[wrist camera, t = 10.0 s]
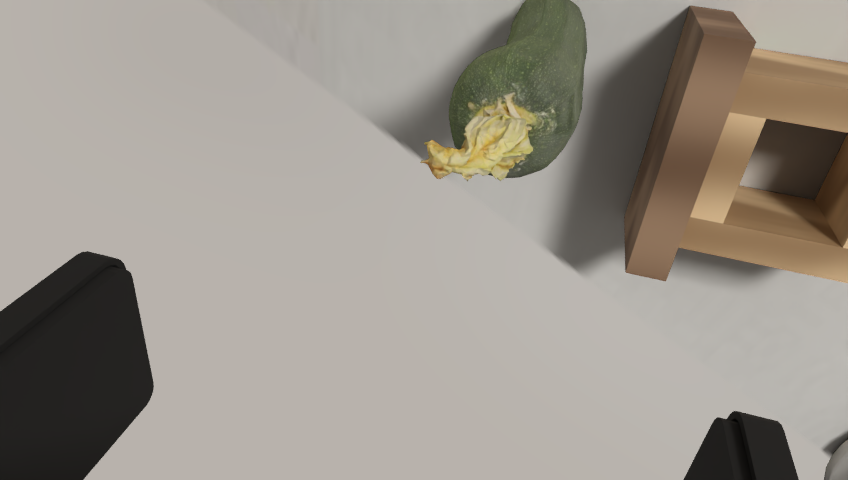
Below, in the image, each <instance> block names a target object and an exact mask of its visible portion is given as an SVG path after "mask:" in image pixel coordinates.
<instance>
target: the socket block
mask: <svg viewBox="0 0 848 480" xmlns="http://www.w3.org/2000/svg"><path fill="white" fill-rule="evenodd" d="M766 119H771V120H777V121H782V122H788V123H794V124H800V125H806V126H811V127H817V128H823V129H829V130H835V131H840V132H846V133H848V63H846V62H839V61H833V60H826V59H820V58H813V57H807V56H800V55H794V54H788V53H781V52H775V51H768V50H762V49H755V48H753V51H752V54H751V56H750V59H749V62H748V64H747V67H746V70H745V72H744V75H743V78H742V80H741V83H740V86H739V88H738V91H737V93H736V96H735V99H734V101H733V104H732V107H731V109H730V112H729V115H728V117H727V120H726V123H725V125H724V128H723V131H722V133H721V136H720V139H719V141H718V144H717V147H716V149H715V152H714V155H713V157H712V160H711V163H710V165H709V168H708V170H707V173H706V176H705V178H704V181H703V184H702V186H701V189H700V192H699V194H698V197H697V200H696V202H695V205H694V208H693V210H692V213H691V216H690V218H689V221H688V224H687V226H686V229H685V232H684V234H683V237H682V240H681V242H680V245H679V247H678V248H683V249H688V250H693V251H697V252H702V253H707V254H712V255H716V256H721V257H726V258H731V259H735V260H740V261H745V262H750V263H754V264H759V265H764V266H769V267H773V268H778V269H783V270H788V271H792V272H797V273H802V274H807V275H812V276H816V277H821V278H826V279H831V280H835V281H840V282H845V283H848V134H847V136H846V138H845V140H844V142H843V144H842V146H841V148H840V150H839V152H838V154H837V156H836V158H835V160H834V162H833V164H832V166H831V168H830V170H829V172H828V174H827V176H826V178H825V180H824V182H823V184H822V186H821V188H820V190H819V192H818V194H817V196H816V198H815V200H812V199H806V198H801V197H796V196H791V195H785V194H780V193H775V192H770V191H764V190H759V189H754V188H749V187H744V186H739V184H740V181H741V179H742V177H743V174H744V172H745V169H746V167H747V164H748V162H749V160H750V157H751V155H752V152H753V150H754V147H755V145H756V143H757V140H758V138H759V135H760V133H761V130H762V128H763V126H764V123H765V121H766Z"/></svg>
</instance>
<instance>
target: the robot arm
mask: <svg viewBox="0 0 848 480" xmlns="http://www.w3.org/2000/svg"><path fill="white" fill-rule="evenodd" d="M153 387H154V386H153V379H152V373H151V368H150V364H149V359H148V354H147V349H146V344H145V339H144V334H143V328H142V324H141V318H140V314H139V308H138V303H137V298H136V293H135V288H134V283H133V278H132V276H131V273H130V272H129V271H127V270H126V268H125V265H124V263H123V262H122V261H121V260H119V259H116V258H112V257H108V256H104V255H100V254H96V253H92V252H88V251H87V252H81V253H80V254H78V255H76V256H75V257H73V258H72V259H71V260H69V261H68V262H67V263H65V264H64V265H63V266H61V267H60V268H58V269H57V270H56V271H54V272H53V273H52V274H50V275H49V276H48V277H46V278H45V279H44V280H42V281H41V282H40V283H38V284H37V285H35V286H34V287H33V288H31V289H30V290H29V291H28V292H26V293H25V294H23V295H22V296H21V297H19V298H18V299H17V300H15V301H14V302H13V303H11V304H10V305H8V306H7V307H6V308H4V309H3V310H2V311H0V480H83V479H84V478H85V477H86V475H87V474H88V473H89V472H90V471H91V470H92V469H93V467H94V466H95V465H96V464H97V463H98V462H99V460H100V459H101V458H102V457H103V456H104V454H105V453H106V452H107V451H108V450H109V449H110V447H111V446H112V445H113V444H114V443H115V442H116V440H117V439H118V438H119V437H120V436H121V435H122V433H123V432H124V431H125V430H126V429H127V427H128V426H129V425H130V424H131V423H132V422H133V420H134V419H135V418H136V417H137V416H138V415H139V413H140V412H141V411H142V410H143V409H144V407H145V406H146V405H147V403H148V402H149V400H150V398H151V396H152V392H153ZM684 480H798V476H797V473H796V469H795V466H794V462H793V460H792V456H791V452H790V449H789V446H788V442H787V439H786V436H785V433H784V430H783V428H782V425H781V424H780V423H779V422H778V421H774V420H770V419H766V418H762V417H758V416H754V415H750V414H746V413H742V412H737V411H734V412H732V413H731V414H730V415H729V417H728V418H727V419H723V418H716V419H715V420H714V422H713V423H712V425H711V427H710V429H709V431H708V433H707V435H706V437H705V439H704V441H703V443H702V445H701V447H700V449H699V451H698V453H697V454H696V456H695V459H694V460H693V462H692V464H691V466H690V468H689V470H688V472H687V474H686V476H685V478H684ZM824 480H848V440H847V441H845V442H844V443H843V444H842V445H841V446H840V447H839V448H838V449H837V450H836V451H835V453H834V454H833V455H832V457H831V459H830V461H829V463H828V465H827V467H826V472H825V477H824Z"/></svg>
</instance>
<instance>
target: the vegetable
mask: <svg viewBox="0 0 848 480" xmlns="http://www.w3.org/2000/svg"><path fill="white" fill-rule="evenodd" d="M586 53H587V41H586V28H585V22H584V20H583V17H582V14H581V11H580V9H579V7H578V6H577V5H576V4H574V3H573V2H572V1H570V0H526V1H525V2H524V3H523V5H522V6H521V8H520V10H519V12H518V13H517V15H516V17H515V19H514V21H513V23H512V27H511V32H510V35H509V38H508V41H507V45H505V46H502V47H499V48H496V49H493V50H490V51H488V52H486V53H484V54H482V55H481V56H479V57H478V58H476V59H475V60H474V61H473V62H472V63H471V64H470V65H468V66H467V68H466V69H465V71H464V72H463V73H462V75H461V76H460V78H459V80H458V82H457V83H456V85H455V87H454V90H453V93H452V97H451V100H450V105H449V121H450V127H451V132H452V137H453V141H454V145H455V147H456V148H457V149H454V148H450V147H447V148H445V147H442V146H441V145H439V144H438V143H437V142H435V141H434V140H431V141H429V142H425V145H427V150H428V155H429V159H427V160H422V161H421V163H426V164H428V165H429V167H430V169H431V171H432V173H433V175H434V176H435V177H436V178H437V179H441V178H443V177H444V176H446V175H449V174H450V173H451V172H454V173H458V174H462V176H463V177H464V179H466V180H467V181H468V180H469V179H470V178H472V176H474V175H475V174H481V175H482V176H484V175H491V176H494V178H495V179H496V177H497V179H498V180H500V181H501V180H502V179H504V178H515V177H522V176H525V175H528V174H531V173H534V172H537V171H540V170H542V169H543V168H545V167H547V166H548V165H549V164H550V163H551V162H552V161H553V160H554V159H555V158H556V157H557V156H558V155H559V153H560V152H561V151H562V150H563V149H564V147H565V145H566V144H567V142H568V140H569V139H570V137H571V136H572V134H573V132H574V130H575V128H576V126H577V123H578V120H579V117H580V113H581V109H582V99H583V98H582V91H583V80H584V64H585V59H586Z"/></svg>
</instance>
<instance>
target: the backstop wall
mask: <svg viewBox="0 0 848 480" xmlns="http://www.w3.org/2000/svg"><path fill="white" fill-rule="evenodd" d="M755 43H756V41H755V40H754V38H753V37H752V36H751V34H750V33H749V32H748V31H747V29H746V28H745V27H744V26H743V24H742V23H741V22H740V20H739V19H738V18H737V17H736V15H735V14H734V13H733V12H730V11H723V10H716V9H710V8H703V7H696V6H690V7H689V10H688V14H687V17H686V20H685V23H684V27H683V30H682V33H681V36H680V39H679V43H678V46H677V49H676V52H675V56H674V59H673V62H672V65H671V68H670V72H669V75H668V78H667V81H666V84H665V88H664V91H663V94H662V97H661V101H660V104H659V107H658V110H657V113H656V117H655V120H654V123H653V126H652V130H651V133H650V136H649V139H648V142H647V146H646V149H645V152H644V155H643V159H642V162H641V165H640V168H639V171H638V175H637V178H636V181H635V184H634V188H633V191H632V194H631V197H630V200H629V204H628V207H627V210H626V213H625V217H624V225H625V270H626V273H630V274H635V275H639V276H644V277H649V278H653V279H658V280H662V281H666V279H667V277H668V274H669V271H670V269H671V266H672V263H673V261H674V258H675V255H676V253H677V250H678V247H679V245H680V242H681V240H682V237H683V234H684V232H685V229H686V226H687V224H688V221H689V218H690V216H691V213H692V210H693V208H694V205H695V202H696V200H697V197H698V194H699V192H700V189H701V186H702V184H703V181H704V178H705V176H706V173H707V170H708V168H709V165H710V163H711V160H712V157H713V155H714V152H715V149H716V147H717V144H718V141H719V139H720V136H721V133H722V131H723V128H724V125H725V123H726V120H727V117H728V115H729V112H730V109H731V107H732V104H733V101H734V99H735V96H736V93H737V91H738V88H739V86H740V83H741V80H742V78H743V75H744V72H745V70H746V67H747V64H748V62H749V59H750V56H751V54H752V51H753V48H754V46H755Z"/></svg>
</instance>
